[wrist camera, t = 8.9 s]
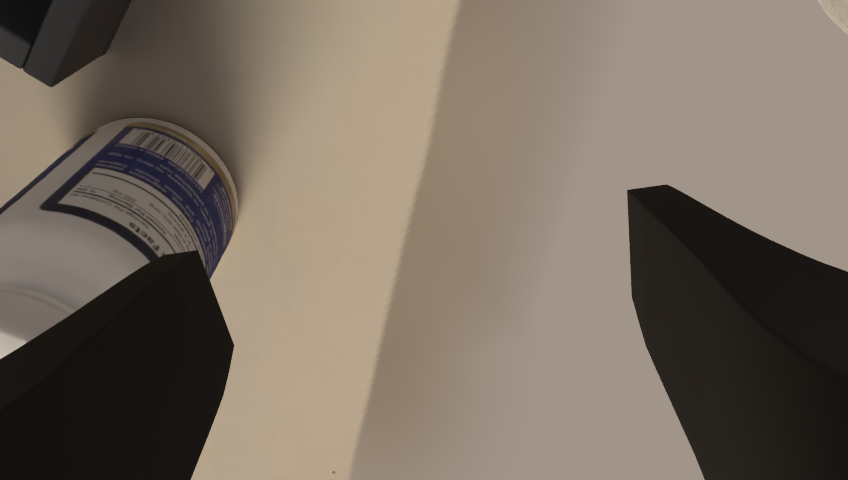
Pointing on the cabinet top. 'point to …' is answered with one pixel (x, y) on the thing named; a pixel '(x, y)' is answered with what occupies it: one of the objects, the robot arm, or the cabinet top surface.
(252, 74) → the cabinet top surface
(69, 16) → the bin
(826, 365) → the robot arm
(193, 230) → the pill bottle
